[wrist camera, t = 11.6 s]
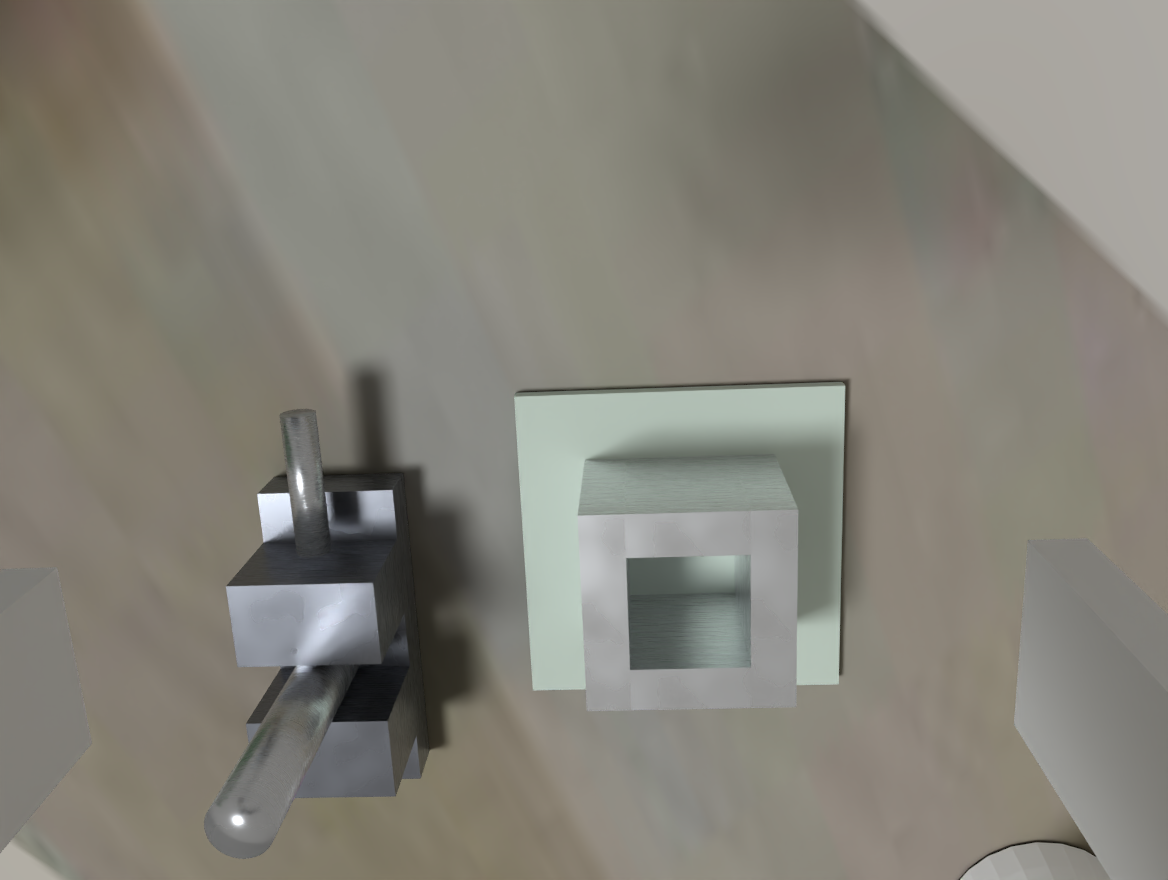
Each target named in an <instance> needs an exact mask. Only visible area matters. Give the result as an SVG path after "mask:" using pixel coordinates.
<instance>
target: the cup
mask: <svg viewBox="0 0 1168 880" xmlns="http://www.w3.org/2000/svg"><path fill="white" fill-rule="evenodd" d="M960 880H1111V879H1110V878H1109V876H1108V874H1107V873H1106V871H1105V870H1104V868H1103V866H1102V865H1101V863H1100V862H1099V860H1098V858H1097V857H1095V856H1093V855H1092V854H1090V853H1088V852H1087V851H1085V850H1082V849H1078V848H1075V847H1071V846H1068V845H1064V844H1059V843H1039V842H1036V843H1030V844H1024V845H1018V846H1012V847H1009V848H1007V849H1004V850H1002V851H999V852H997V853H995V854H992V855H990V856H988V857H986V858H985V859H983V860H982V861H981V862H979V863H978V864H976V865H975V866H973V867H972V868H971V869H969V870H968V871H967V872H966V873H965V875H964V876H963V877H962V878H961V879H960Z"/></svg>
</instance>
